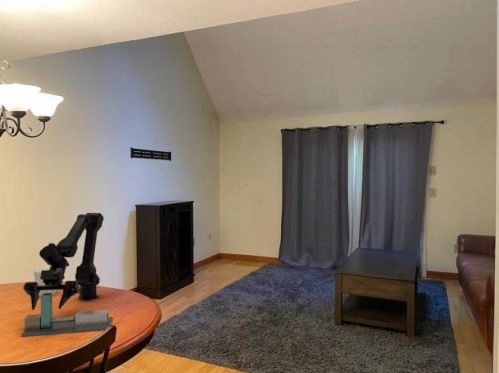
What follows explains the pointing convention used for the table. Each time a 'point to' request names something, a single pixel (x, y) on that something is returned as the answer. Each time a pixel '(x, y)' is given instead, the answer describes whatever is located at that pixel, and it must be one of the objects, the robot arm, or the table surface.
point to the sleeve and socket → (69, 323)
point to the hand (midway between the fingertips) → (46, 309)
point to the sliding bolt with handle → (50, 312)
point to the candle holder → (37, 279)
